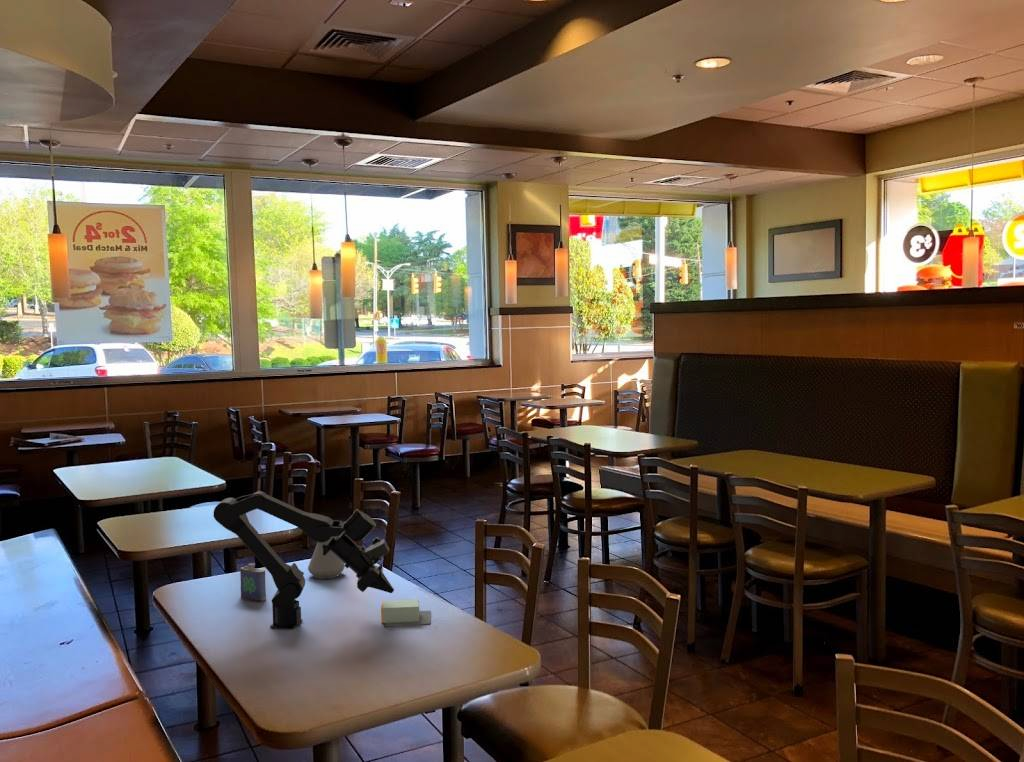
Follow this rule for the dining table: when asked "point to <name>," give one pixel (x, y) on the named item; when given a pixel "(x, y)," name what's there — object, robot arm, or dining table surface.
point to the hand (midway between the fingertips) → (392, 591)
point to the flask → (253, 583)
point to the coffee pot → (325, 563)
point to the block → (400, 611)
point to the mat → (423, 619)
